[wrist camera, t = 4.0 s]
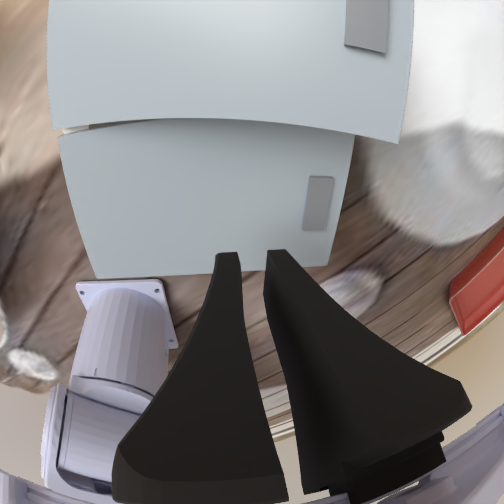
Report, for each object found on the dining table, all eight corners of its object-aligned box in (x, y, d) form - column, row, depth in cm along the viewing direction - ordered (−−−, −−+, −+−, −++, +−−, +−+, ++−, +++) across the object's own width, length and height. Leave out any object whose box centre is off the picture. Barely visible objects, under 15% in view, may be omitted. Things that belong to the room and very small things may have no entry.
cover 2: (323, 259, 17) (328, 268, 17) (99, 272, 15) (95, 282, 15) (351, 121, 12) (359, 125, 11) (62, 134, 10) (54, 139, 9)
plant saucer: (455, 324, 38) (463, 338, 35) (435, 284, 29) (449, 302, 26) (520, 258, 31) (531, 270, 29) (520, 194, 22) (536, 207, 20)
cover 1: (393, 139, 8) (400, 146, 7) (61, 126, 10) (48, 132, 9) (404, -67, 3) (410, -76, 2) (62, -28, 5) (49, -29, 4)
